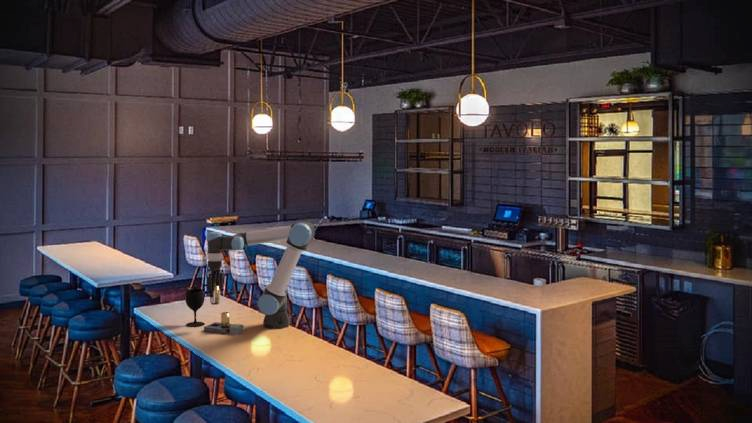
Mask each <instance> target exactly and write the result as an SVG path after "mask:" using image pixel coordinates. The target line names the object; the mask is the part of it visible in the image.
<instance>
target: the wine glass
mask: <svg viewBox="0 0 752 423" xmlns="http://www.w3.org/2000/svg"><path fill="white" fill-rule="evenodd" d="M184 298H185V304H186V306H187V307H188V308H189V309H190V310H192V311H193V314H194V315H193V316H194V317H193V318H194V319H193V321H190V322H187V323H186V325H185V326H186V327H188V328H199V327H203V326H205V322H203V321H197V311H198V310H200V309H202V306H203V305H204V302H205V292H204V290H203V289H202V288H190V289H188V290H186V292H185V297H184Z"/></svg>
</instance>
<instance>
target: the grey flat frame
mask: <svg viewBox="0 0 752 423" xmlns="http://www.w3.org/2000/svg"><path fill="white" fill-rule="evenodd" d="M234 324H235V323H234ZM234 324H233V323H230V326H232V325H234ZM203 332H204V333H205V332H206V333H215V334H219V335H220V334H221V335H227V334H230V327H229V328H221V322H218V321H214V322H213V323H210V324H208V325H204V327H203Z"/></svg>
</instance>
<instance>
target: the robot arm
mask: <svg viewBox="0 0 752 423" xmlns="http://www.w3.org/2000/svg"><path fill="white" fill-rule="evenodd" d="M315 235H316V228H315V226H314V224H313V223H312V222H310V221H306V220H303V221H300V222H296V223H291V224H290V225H288V226H283V227H282V226H281V227H274V228H268V229H267V228H266V229H260V230H254V231H247V232H237V233H236V234H233V235H229V236H227V235H226V236H223V235H222V233H221V231H211V232H208V234H207V241H206V242H207V260H208V261H207V268H209V270H208V271H209V272H206V273H205V275H206V291H207V292H209V303H210V304H211V303H215V291H214V285H218V286H219V302H221V290H223V286H224V269H221V268H222V267H223V262H222V261H223V260H222V259H223V254H222V253H223V252H222V251H236V252H237V251H242V250H243V248H244V247H246V246H253V245H259V244H260V245H261V244H269V243H275V242H281V241H283V242H284V241H285V243H286V249H285V250H284V252H283V255H282V257H281V260H280V261H279V263H278V266H277V268H276V271H275V272H274V274H273V277H272V278H271V281H270V284H268V285H266V286H265V288H264V290H263V293H262V294H261V296H259V298H258V300H257V307H258V310H259V312H261V313H262V314H263V315H264V318H263V321H262V326H263V327H264V328H267V329H283V328H288V327H289V326H290V325H291V322H290V317H289V315H288V311H287V310H288V307H287V305H288V300H287V299H288V297H287V296H288V290H287V286H288V284H289V282H290V279H291V277H292V275H293V272H294V271H295V268H296V266H297V263H298V262H299V260H300V258H301V255H302V253H303V252H306V251H307V250H308V246H309V244H310V242H311V241H312V240H313V239H314V238H315Z"/></svg>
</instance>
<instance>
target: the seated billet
mask: <svg viewBox="0 0 752 423" xmlns="http://www.w3.org/2000/svg"><path fill="white" fill-rule="evenodd" d="M220 320H221V321H220V323H221V328H229V327H230V324H231V323H230V312H228V311H224V312H220Z"/></svg>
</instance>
